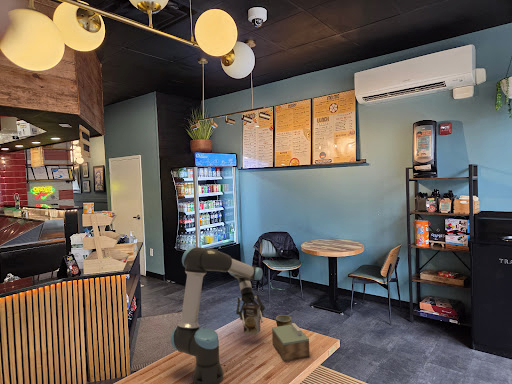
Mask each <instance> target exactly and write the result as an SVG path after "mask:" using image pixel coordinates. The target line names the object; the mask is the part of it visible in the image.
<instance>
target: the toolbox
mask: <svg viewBox="0 0 512 384" xmlns="http://www.w3.org/2000/svg"><path fill="white" fill-rule="evenodd" d="M271 334H272V335H271V336H272V346H273V347H274V349H275V350H276V352H277V353H278V355H279V357H280V358H281V360H282V362H283V363H285V362H291V361H297V360H302V359H307V358H310V340H309V341H306V342H301V343H295V344H289V345H283V344H282V343H281V341H280V340H279V339H278V337H277V336H276V334H275V333H274V331H273V330H272V329H271Z"/></svg>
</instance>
